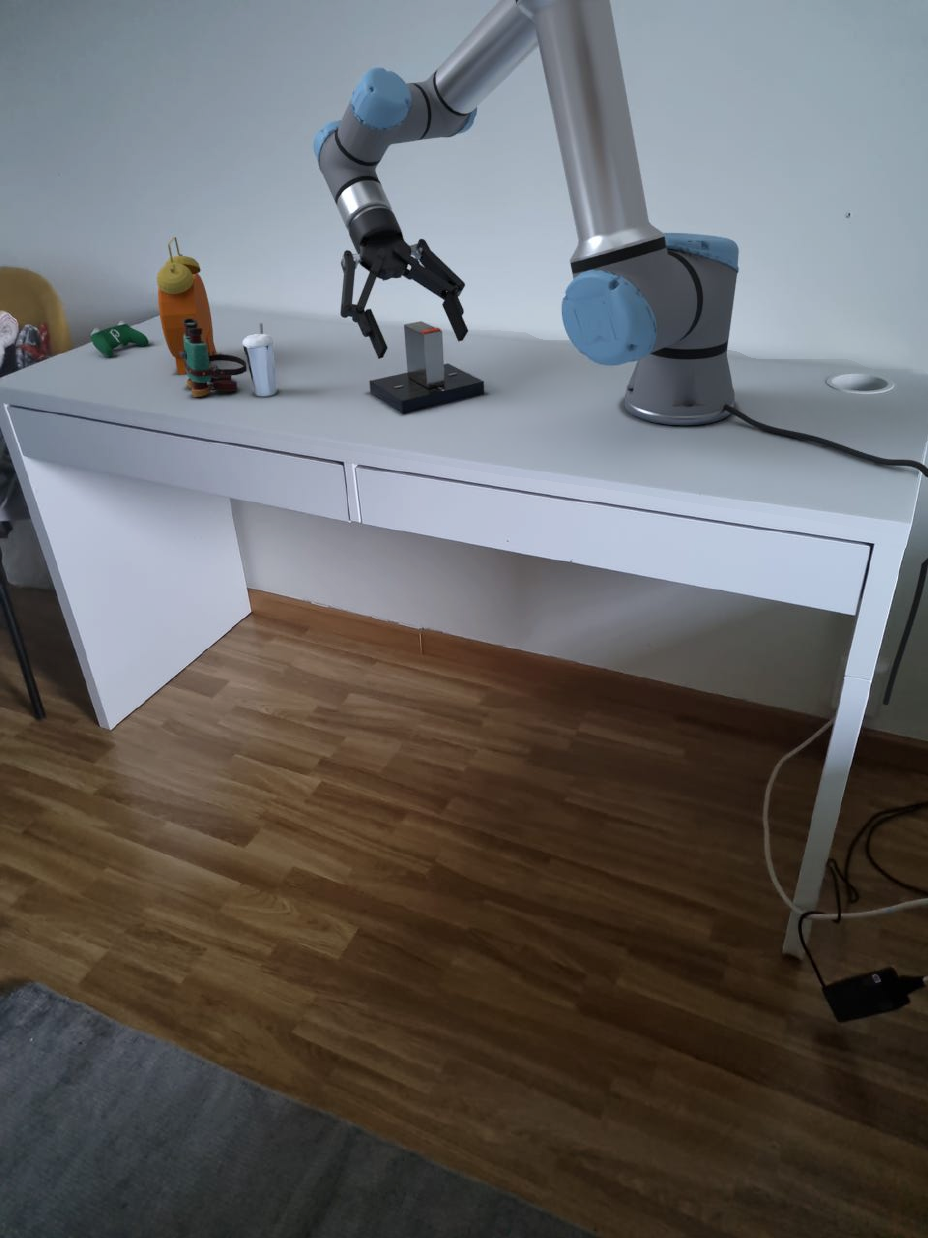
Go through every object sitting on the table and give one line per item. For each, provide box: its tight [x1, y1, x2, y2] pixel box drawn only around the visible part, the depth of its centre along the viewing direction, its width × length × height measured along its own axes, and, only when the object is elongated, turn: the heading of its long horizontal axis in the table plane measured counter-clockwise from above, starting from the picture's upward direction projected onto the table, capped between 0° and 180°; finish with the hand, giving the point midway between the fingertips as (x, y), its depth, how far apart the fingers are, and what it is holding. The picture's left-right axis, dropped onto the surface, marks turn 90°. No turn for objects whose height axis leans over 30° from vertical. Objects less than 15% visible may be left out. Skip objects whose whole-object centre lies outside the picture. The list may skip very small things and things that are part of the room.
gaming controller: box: [90, 319, 150, 358], centre depth 162 cm, size 9×4×6 cm
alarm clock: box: [156, 236, 218, 375], centre depth 148 cm, size 13×6×20 cm, turn 6°
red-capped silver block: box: [403, 321, 445, 388], centre depth 133 cm, size 6×3×8 cm, turn 30°
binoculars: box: [179, 318, 248, 398], centre depth 140 cm, size 9×11×10 cm
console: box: [369, 363, 485, 415], centre depth 136 cm, size 14×11×2 cm
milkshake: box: [241, 322, 277, 398], centre depth 137 cm, size 4×5×10 cm
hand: (424, 344), depth 132 cm, fingers open, 13 cm apart
